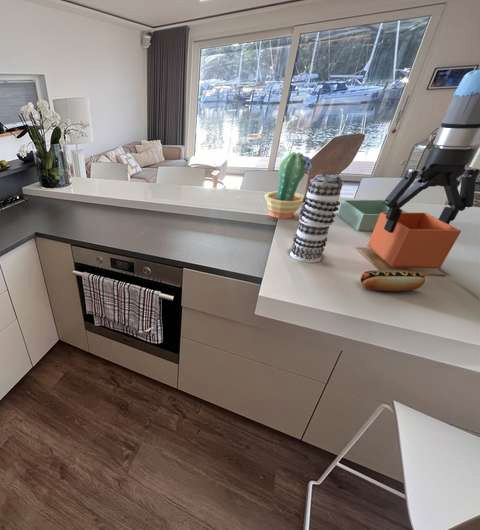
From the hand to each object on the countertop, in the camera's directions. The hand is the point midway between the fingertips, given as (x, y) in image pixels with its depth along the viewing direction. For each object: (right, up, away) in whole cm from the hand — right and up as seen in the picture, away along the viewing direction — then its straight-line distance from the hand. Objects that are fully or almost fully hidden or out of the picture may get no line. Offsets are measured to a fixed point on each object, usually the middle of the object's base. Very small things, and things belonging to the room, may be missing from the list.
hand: (412, 231), depth 79 cm
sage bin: (+13, +6, +29) cm, 32 cm away
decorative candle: (-22, -7, +12) cm, 26 cm away
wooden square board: (+1, -9, +5) cm, 10 cm away
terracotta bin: (+1, -7, +4) cm, 8 cm away
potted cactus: (-13, +12, +43) cm, 46 cm away
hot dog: (-12, -16, -5) cm, 21 cm away
